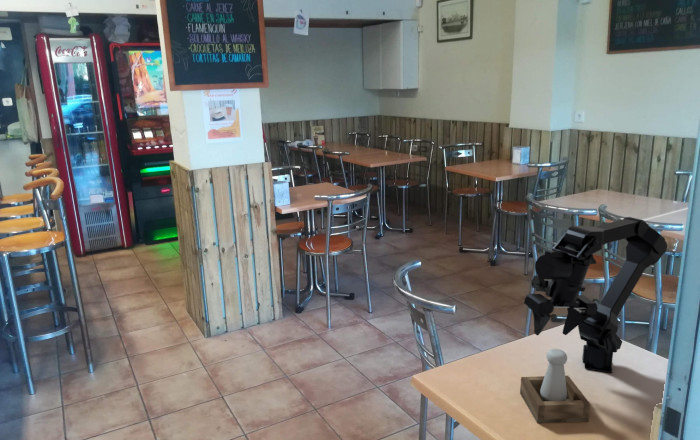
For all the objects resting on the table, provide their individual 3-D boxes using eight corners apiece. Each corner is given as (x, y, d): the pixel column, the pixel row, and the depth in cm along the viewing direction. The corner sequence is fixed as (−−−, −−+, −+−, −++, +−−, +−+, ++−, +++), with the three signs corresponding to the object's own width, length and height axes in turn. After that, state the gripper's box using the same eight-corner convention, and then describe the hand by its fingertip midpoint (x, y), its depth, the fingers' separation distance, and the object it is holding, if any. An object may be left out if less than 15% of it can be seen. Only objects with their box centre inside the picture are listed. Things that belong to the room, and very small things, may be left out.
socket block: (566, 391, 126) (568, 375, 125) (588, 421, 115) (590, 403, 114) (520, 393, 126) (521, 377, 125) (537, 423, 115) (538, 405, 114)
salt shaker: (568, 411, 117) (573, 359, 114) (541, 408, 118) (546, 357, 115) (563, 396, 123) (568, 346, 119) (537, 393, 124) (541, 344, 120)
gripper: (575, 265, 136) (556, 318, 141) (519, 262, 129) (501, 317, 133) (608, 285, 126) (586, 340, 131) (550, 282, 119) (529, 341, 124)
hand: (550, 334), depth 130 cm, fingers open, 9 cm apart
